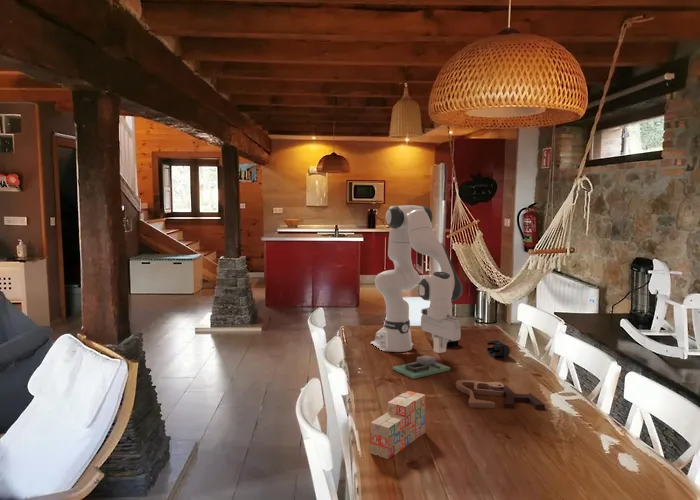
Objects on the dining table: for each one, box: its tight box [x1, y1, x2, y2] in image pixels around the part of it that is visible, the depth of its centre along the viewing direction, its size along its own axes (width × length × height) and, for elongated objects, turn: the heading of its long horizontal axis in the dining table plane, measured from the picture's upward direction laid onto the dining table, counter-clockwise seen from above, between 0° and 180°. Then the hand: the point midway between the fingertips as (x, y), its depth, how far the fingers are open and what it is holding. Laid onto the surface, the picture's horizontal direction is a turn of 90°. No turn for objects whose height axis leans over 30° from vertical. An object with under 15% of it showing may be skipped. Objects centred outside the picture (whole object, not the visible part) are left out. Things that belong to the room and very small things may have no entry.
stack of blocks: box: [369, 390, 427, 460], centre depth 152 cm, size 21×6×12 cm, turn 144°
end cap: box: [486, 339, 511, 360], centre depth 238 cm, size 10×7×7 cm
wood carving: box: [455, 379, 546, 411], centre depth 189 cm, size 28×2×24 cm
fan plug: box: [433, 336, 447, 354], centre depth 208 cm, size 3×5×6 cm, turn 122°
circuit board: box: [392, 354, 451, 380], centre depth 219 cm, size 14×20×4 cm
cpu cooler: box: [446, 340, 459, 348], centre depth 258 cm, size 10×6×10 cm
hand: (439, 346), depth 208 cm, fingers closed on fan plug, 3 cm apart
